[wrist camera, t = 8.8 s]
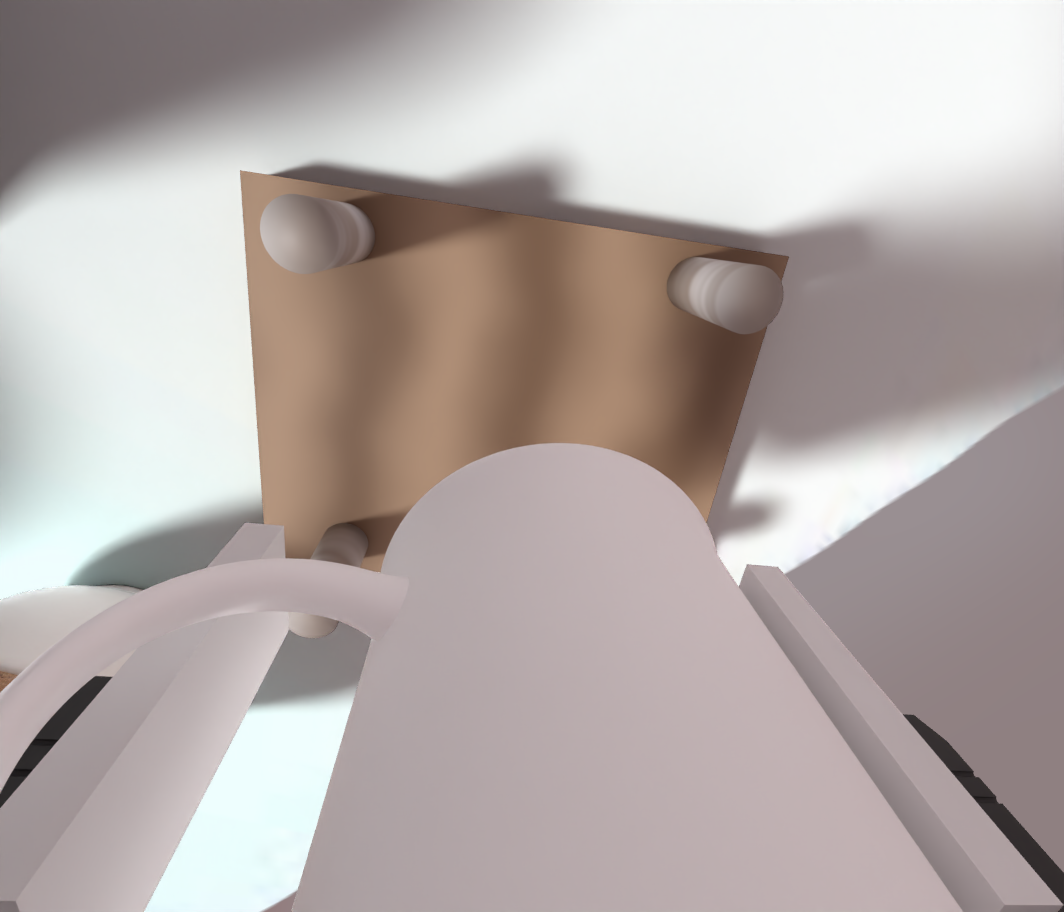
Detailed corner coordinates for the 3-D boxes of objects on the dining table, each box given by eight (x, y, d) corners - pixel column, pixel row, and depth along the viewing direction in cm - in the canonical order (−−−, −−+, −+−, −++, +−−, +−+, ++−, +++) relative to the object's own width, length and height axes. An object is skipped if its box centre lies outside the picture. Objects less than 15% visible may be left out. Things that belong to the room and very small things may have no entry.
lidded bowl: (285, 710, 30) (180, 952, 20) (63, 739, 30) (-156, 1000, 20) (208, 522, 25) (17, 718, 15) (-59, 555, 25) (-438, 779, 15)
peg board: (282, 540, 26) (212, 642, 19) (263, 176, 20) (152, 150, 13) (671, 570, 28) (724, 671, 22) (764, 254, 22) (876, 264, 16)
